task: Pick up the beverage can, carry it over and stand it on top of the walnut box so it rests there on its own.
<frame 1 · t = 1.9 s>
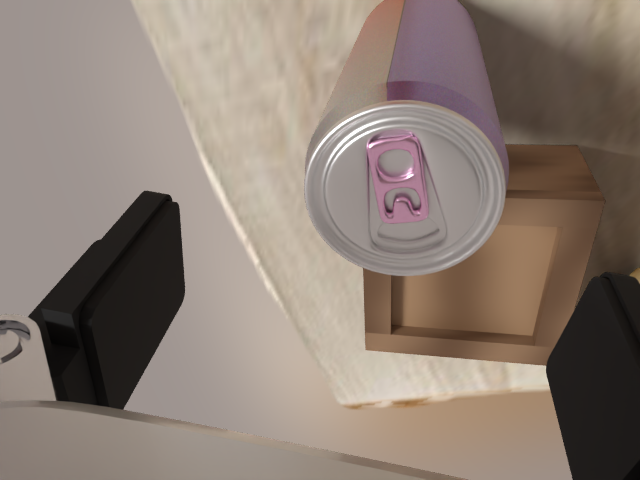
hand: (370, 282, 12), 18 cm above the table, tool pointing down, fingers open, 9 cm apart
beverage can: (416, 48, 27), on the table
walnut box: (462, 226, 32), on the table
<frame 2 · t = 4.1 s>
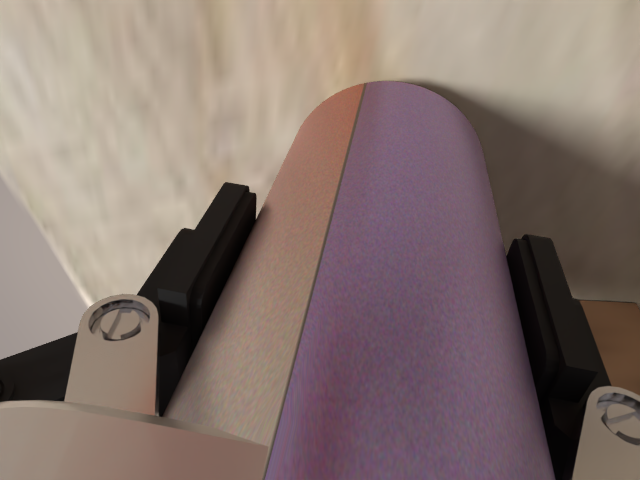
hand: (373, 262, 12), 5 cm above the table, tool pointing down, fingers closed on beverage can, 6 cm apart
beverage can: (385, 163, 17), on the table, touching gripper
walnut box: (460, 392, 22), on the table
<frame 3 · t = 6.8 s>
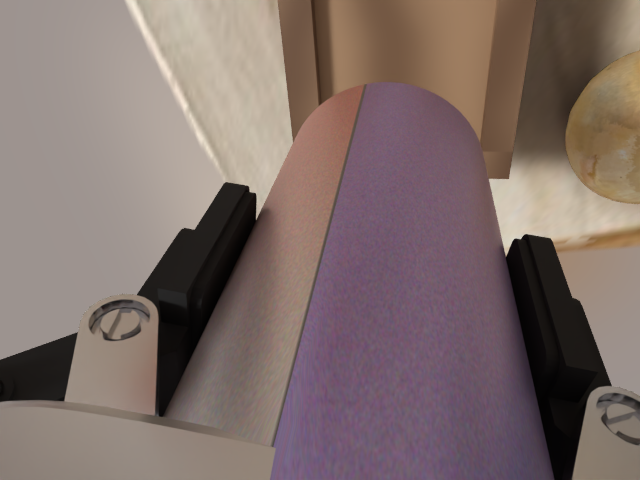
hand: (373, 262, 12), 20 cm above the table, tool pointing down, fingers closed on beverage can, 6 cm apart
beverage can: (385, 164, 17), point 15 cm above the table, touching gripper
onion: (629, 107, 29), on the table
walnut box: (404, 39, 29), on the table
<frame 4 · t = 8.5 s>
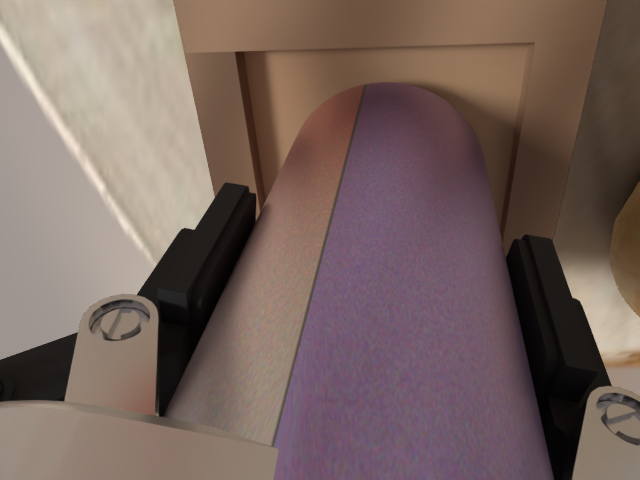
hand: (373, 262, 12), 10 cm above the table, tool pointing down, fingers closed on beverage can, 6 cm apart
beverage can: (385, 164, 17), point 5 cm above the table, touching gripper
walnut box: (387, 111, 21), on the table
when the fingers open (10 cm above the table, at t = 9.5 s): beverage can stays where it is, resting on walnut box.
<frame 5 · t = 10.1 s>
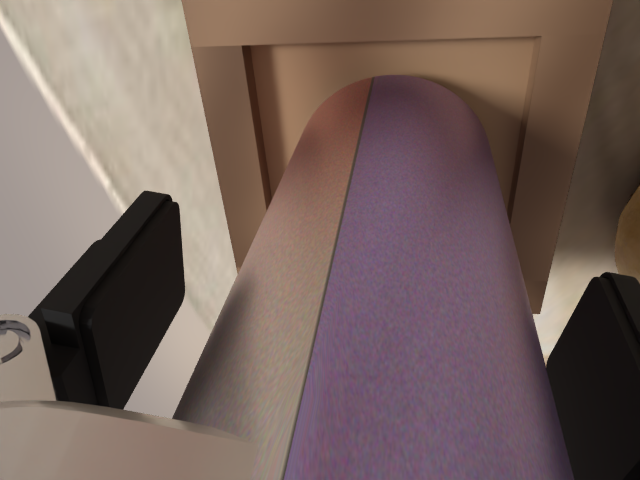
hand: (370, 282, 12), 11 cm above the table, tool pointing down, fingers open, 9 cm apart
beverage can: (392, 157, 17), point 5 cm above the table, touching walnut box
walnut box: (392, 106, 21), on the table
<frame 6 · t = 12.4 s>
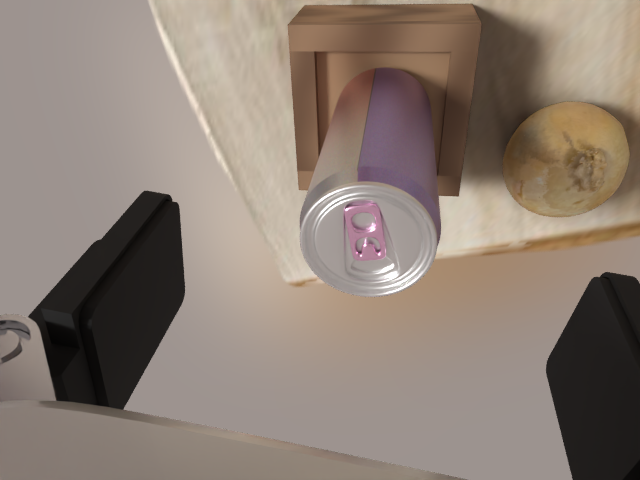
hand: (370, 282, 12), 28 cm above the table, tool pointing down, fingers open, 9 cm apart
beverage can: (383, 109, 33), point 5 cm above the table, touching walnut box
onion: (552, 143, 38), on the table
walnut box: (383, 87, 37), on the table
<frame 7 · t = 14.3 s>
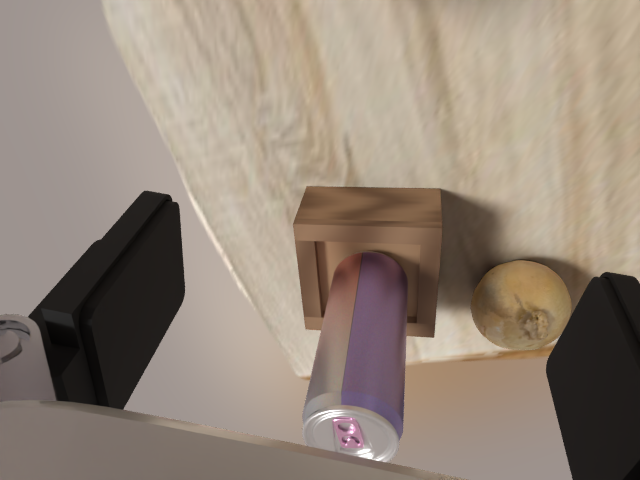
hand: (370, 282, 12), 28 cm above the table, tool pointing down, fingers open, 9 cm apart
beverage can: (370, 275, 42), point 5 cm above the table, touching walnut box
onion: (514, 282, 46), on the table
walnut box: (372, 242, 46), on the table
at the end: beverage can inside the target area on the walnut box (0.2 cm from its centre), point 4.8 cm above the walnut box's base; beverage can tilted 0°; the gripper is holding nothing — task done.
